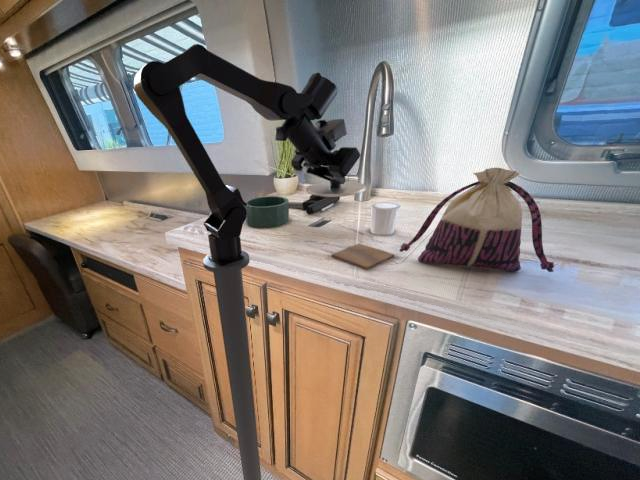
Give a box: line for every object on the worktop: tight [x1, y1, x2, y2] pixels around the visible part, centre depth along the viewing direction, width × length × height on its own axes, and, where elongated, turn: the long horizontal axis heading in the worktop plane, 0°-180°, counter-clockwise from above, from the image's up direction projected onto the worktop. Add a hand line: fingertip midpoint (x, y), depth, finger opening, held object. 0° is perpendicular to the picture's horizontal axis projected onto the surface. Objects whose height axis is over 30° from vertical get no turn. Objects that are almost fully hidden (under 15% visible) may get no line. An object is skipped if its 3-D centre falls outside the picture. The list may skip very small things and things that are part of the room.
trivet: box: [331, 243, 396, 270], centre depth 70 cm, size 10×10×1 cm
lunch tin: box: [244, 195, 290, 229], centre depth 98 cm, size 14×14×6 cm
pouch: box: [398, 167, 555, 273], centre depth 58 cm, size 25×8×19 cm, turn 63°
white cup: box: [370, 201, 401, 236], centre depth 81 cm, size 7×7×7 cm
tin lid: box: [305, 179, 367, 198], centre depth 77 cm, size 15×15×6 cm
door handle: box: [289, 194, 342, 216], centre depth 109 cm, size 3×20×16 cm
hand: (339, 181), depth 78 cm, fingers closed on tin lid, 3 cm apart
